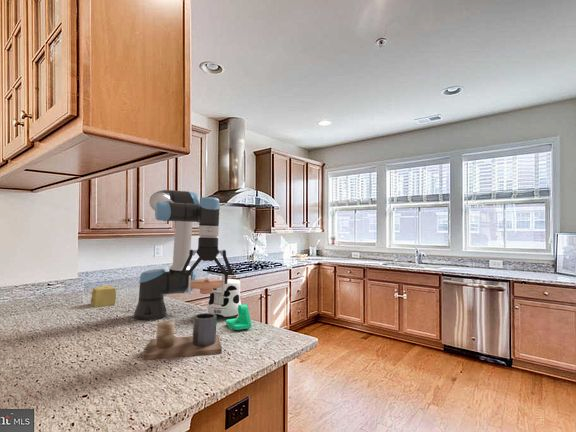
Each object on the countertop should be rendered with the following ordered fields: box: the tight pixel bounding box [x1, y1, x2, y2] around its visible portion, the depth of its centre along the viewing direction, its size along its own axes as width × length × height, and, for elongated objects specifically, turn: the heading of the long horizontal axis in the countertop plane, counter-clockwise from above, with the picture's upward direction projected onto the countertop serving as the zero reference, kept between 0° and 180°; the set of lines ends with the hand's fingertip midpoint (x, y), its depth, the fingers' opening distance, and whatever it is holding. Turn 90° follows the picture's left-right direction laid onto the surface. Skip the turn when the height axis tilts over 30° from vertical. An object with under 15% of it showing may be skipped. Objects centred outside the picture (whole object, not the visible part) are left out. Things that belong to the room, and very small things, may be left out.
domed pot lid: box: [191, 277, 223, 295], centre depth 121 cm, size 12×12×5 cm
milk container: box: [207, 278, 242, 319], centre depth 163 cm, size 17×17×18 cm
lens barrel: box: [192, 312, 218, 347], centre depth 120 cm, size 8×8×10 cm
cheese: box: [90, 285, 117, 308], centre depth 178 cm, size 10×11×10 cm
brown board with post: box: [143, 320, 223, 360], centre depth 118 cm, size 26×16×10 cm, turn 107°
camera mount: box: [225, 303, 252, 331], centre depth 145 cm, size 12×8×10 cm, turn 32°
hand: (206, 293), depth 120 cm, fingers closed on domed pot lid, 12 cm apart
